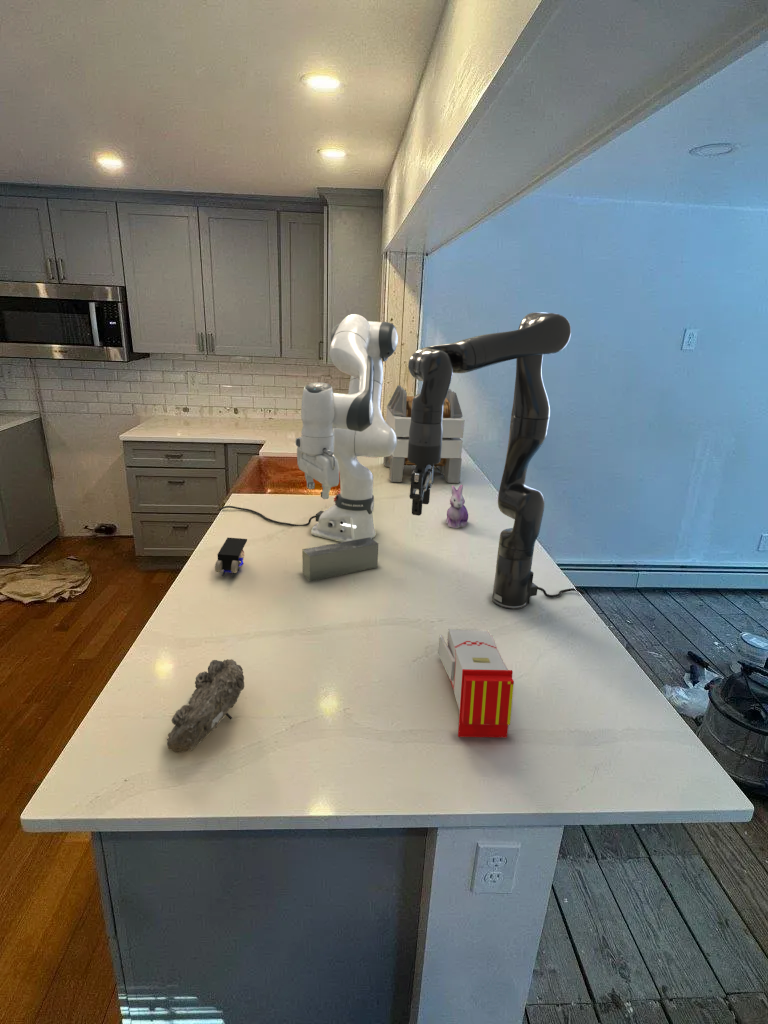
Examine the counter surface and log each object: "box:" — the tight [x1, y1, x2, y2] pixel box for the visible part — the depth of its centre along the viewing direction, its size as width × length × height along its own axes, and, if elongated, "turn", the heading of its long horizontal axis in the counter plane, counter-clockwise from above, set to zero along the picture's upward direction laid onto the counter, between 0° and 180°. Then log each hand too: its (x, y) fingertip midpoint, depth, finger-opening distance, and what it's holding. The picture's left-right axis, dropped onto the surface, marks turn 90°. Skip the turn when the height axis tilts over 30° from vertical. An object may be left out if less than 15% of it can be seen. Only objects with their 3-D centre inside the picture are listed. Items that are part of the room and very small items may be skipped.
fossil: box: [166, 658, 245, 754], centre depth 106 cm, size 22×10×15 cm
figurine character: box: [214, 537, 248, 578], centre depth 166 cm, size 7×8×15 cm
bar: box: [301, 537, 379, 582], centre depth 169 cm, size 22×6×8 cm, turn 120°
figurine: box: [445, 484, 469, 529], centre depth 209 cm, size 9×10×15 cm
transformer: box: [383, 384, 465, 484], centre depth 268 cm, size 34×33×41 cm
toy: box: [437, 628, 515, 738], centre depth 117 cm, size 12×13×30 cm
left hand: (317, 493), depth 158 cm, fingers open, 8 cm apart
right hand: (420, 509), depth 133 cm, fingers open, 8 cm apart
